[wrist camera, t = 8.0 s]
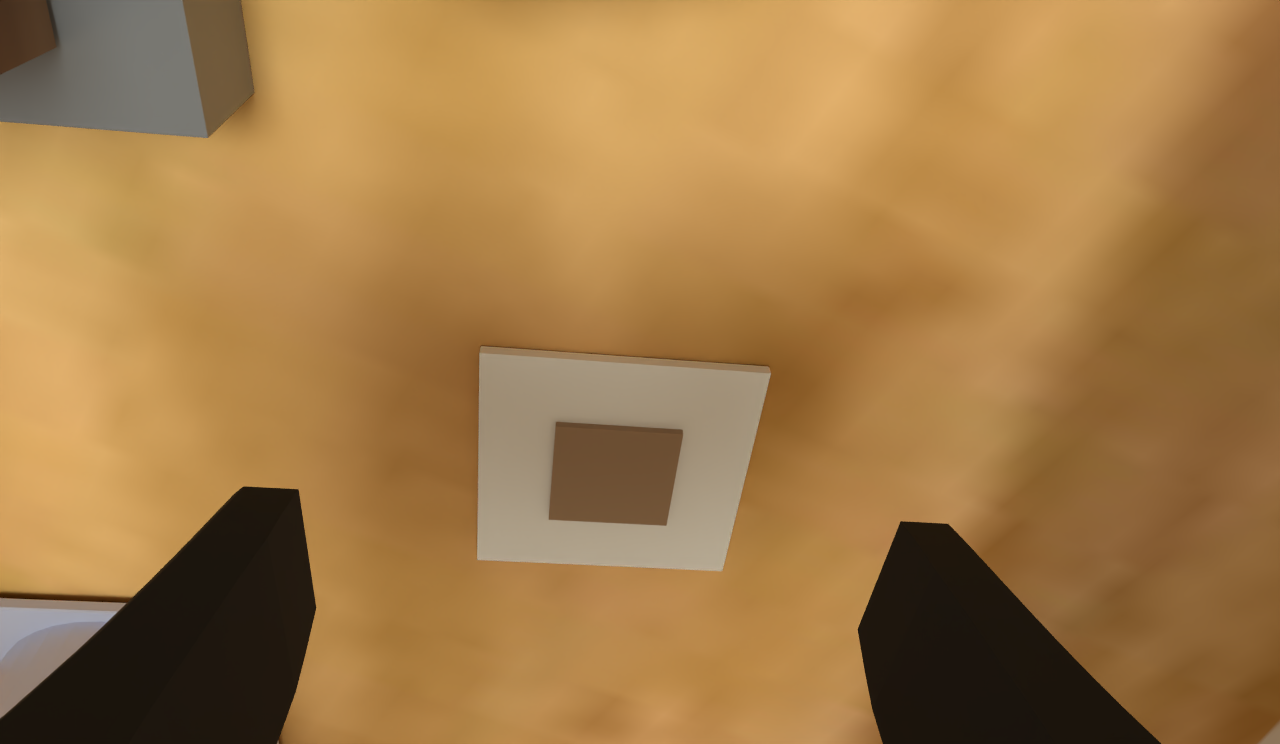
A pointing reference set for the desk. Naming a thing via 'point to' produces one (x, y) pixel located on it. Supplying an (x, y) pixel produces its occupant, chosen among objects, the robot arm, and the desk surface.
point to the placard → (612, 457)
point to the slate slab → (135, 68)
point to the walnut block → (24, 32)
